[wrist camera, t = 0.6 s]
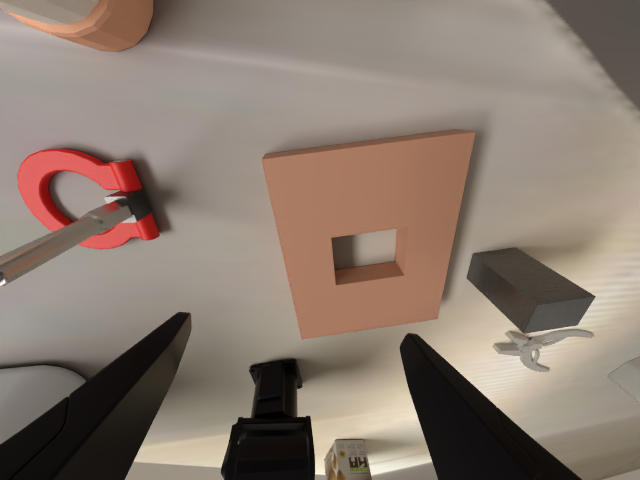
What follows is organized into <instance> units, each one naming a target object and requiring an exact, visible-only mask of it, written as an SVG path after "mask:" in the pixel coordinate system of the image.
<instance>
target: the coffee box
mask: <svg viewBox="0 0 640 480" xmlns="http://www.w3.org/2000/svg"><path fill="white" fill-rule="evenodd" d="M324 462H325V474H326V480H372V478H371V473H370V468H369V463H368V458H367V453H366V448H365V443H364V440H336V441H335V442H334V443H333V445H332V447H331V449H330V450H329V452H328V454H327V455H326V457H325V459H324Z"/></svg>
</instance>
